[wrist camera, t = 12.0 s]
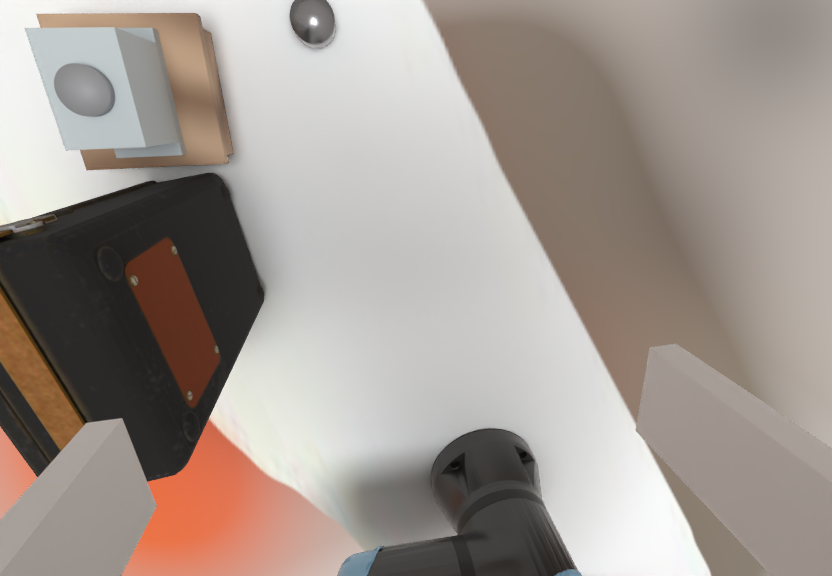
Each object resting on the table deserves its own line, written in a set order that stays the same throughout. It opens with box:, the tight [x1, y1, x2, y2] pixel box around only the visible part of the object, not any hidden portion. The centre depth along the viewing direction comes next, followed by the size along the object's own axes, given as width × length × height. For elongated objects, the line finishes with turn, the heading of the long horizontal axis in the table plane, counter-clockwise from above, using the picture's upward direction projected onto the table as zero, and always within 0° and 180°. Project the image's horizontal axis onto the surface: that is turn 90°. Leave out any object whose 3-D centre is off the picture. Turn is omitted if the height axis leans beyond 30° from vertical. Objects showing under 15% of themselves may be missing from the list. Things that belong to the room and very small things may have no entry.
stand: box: [37, 13, 233, 170], centre depth 35 cm, size 11×11×5 cm
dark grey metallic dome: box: [290, 0, 336, 49], centre depth 36 cm, size 4×4×3 cm
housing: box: [25, 27, 186, 158], centre depth 30 cm, size 9×5×8 cm, turn 2°
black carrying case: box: [0, 173, 264, 482], centre depth 32 cm, size 16×9×25 cm, turn 10°
